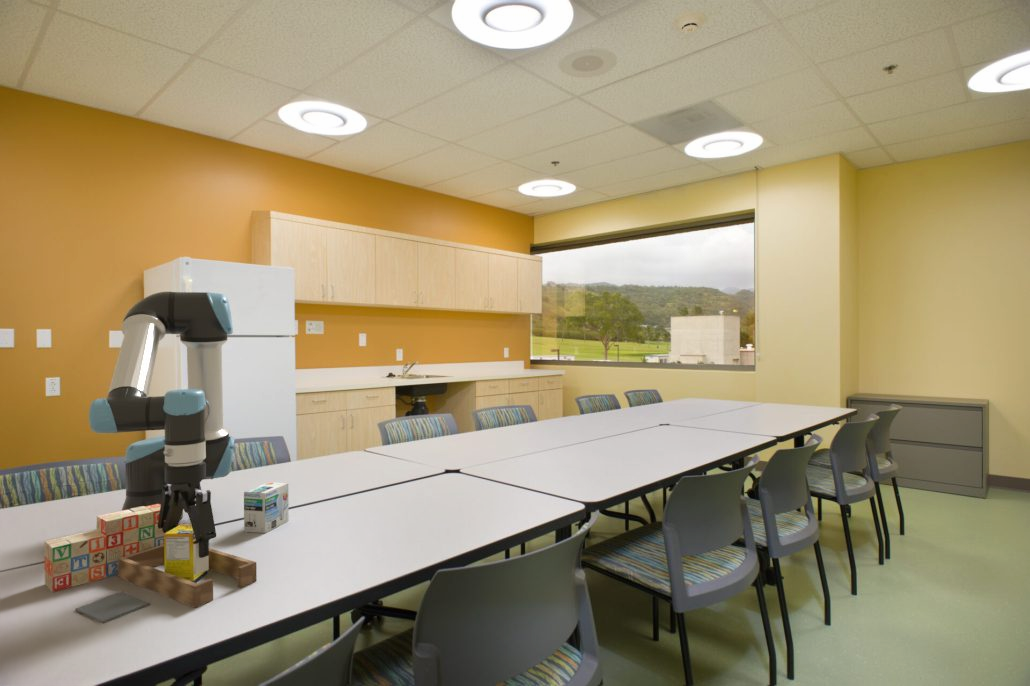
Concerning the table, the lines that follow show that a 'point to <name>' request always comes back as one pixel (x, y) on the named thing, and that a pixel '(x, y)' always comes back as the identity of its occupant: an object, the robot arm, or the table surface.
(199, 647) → the table surface
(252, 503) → the light bulb box
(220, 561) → the open wooden frame
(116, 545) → the stack of blocks
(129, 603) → the mat
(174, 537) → the supplement box
